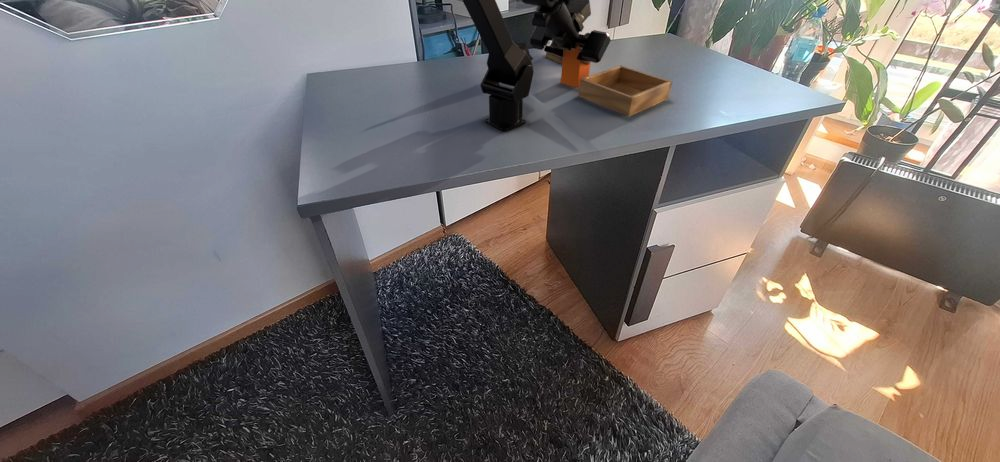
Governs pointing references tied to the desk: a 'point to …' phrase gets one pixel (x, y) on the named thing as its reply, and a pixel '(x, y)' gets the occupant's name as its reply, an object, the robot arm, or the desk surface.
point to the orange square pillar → (573, 68)
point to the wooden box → (624, 90)
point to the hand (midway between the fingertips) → (579, 60)
